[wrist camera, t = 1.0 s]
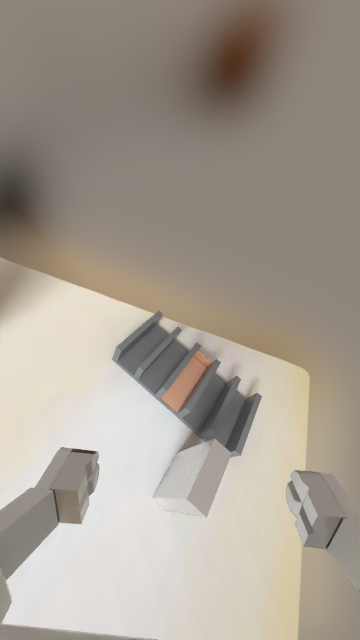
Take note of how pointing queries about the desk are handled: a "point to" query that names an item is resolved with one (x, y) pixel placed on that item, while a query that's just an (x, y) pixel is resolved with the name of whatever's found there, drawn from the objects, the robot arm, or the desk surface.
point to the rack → (188, 385)
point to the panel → (193, 479)
